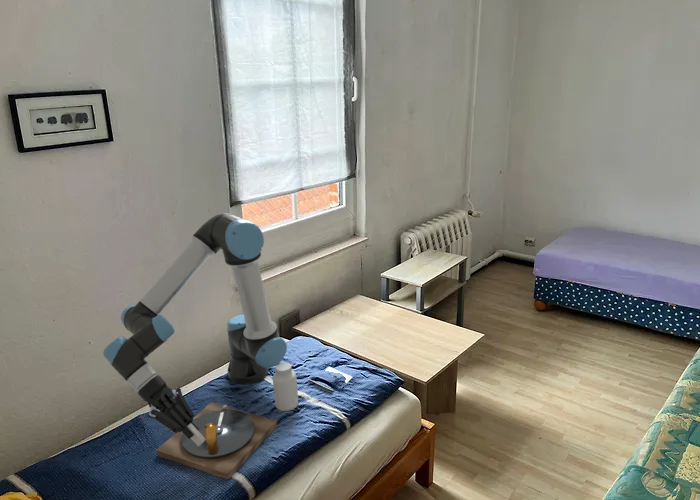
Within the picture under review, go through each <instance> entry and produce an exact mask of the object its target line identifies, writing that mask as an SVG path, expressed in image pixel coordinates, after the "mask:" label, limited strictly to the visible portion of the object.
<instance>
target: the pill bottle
mask: <svg viewBox="0 0 700 500" xmlns="http://www.w3.org/2000/svg"><path fill="white" fill-rule="evenodd" d="M297 379H298V378H297V374H296V372H295V371H294V370H293V369H292V364H290V363H289V362H280V363H279V364H277V365H276V366H275V373H274V374H273V375H272V384H273V385H272V386H273V397H274V405H275V408H276V409H277V410H279V411H282V412H289V411H292V410H294V409H296V408H297V407H298V405H299V391H298V380H297Z"/></svg>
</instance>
